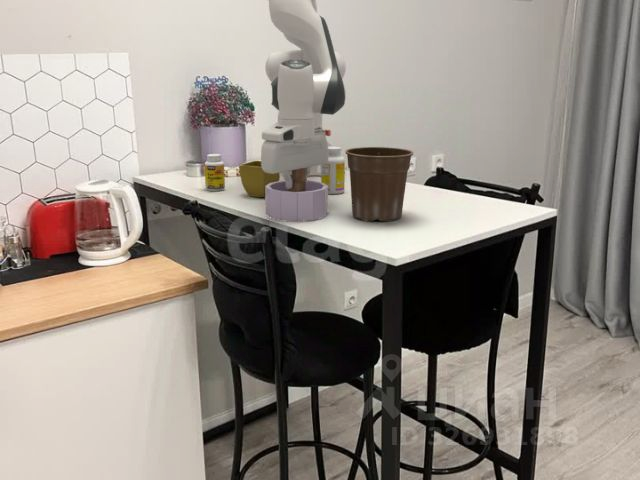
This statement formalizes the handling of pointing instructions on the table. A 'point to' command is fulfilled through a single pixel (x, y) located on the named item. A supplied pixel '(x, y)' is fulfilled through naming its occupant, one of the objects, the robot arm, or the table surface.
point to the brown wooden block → (298, 180)
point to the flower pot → (256, 178)
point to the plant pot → (378, 181)
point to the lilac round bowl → (296, 201)
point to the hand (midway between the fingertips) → (296, 186)
